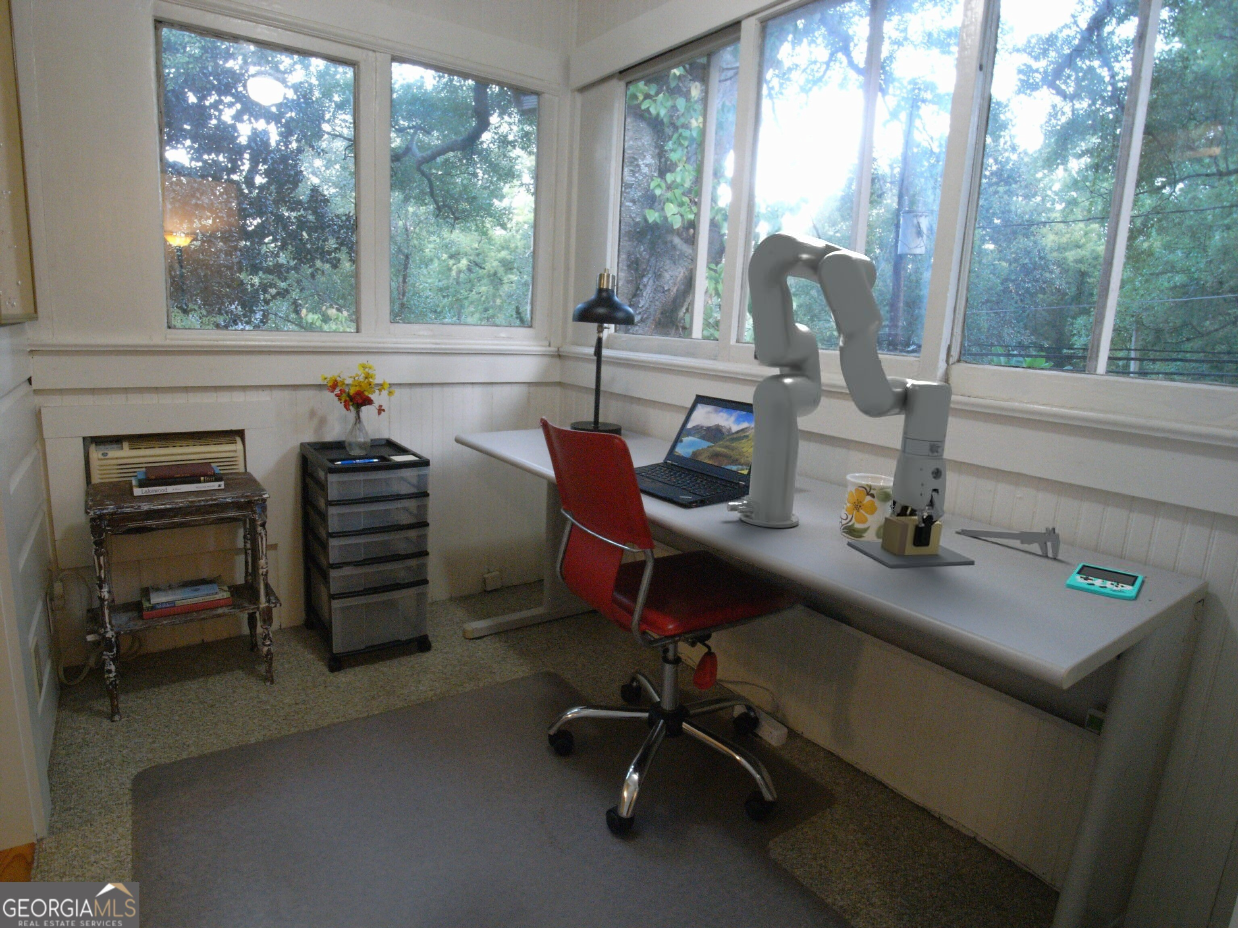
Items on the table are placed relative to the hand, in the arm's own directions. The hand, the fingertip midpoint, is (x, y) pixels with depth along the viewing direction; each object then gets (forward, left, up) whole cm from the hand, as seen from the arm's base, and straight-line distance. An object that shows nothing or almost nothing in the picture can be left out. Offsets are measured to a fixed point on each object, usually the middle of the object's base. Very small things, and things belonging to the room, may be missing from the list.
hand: (910, 540), depth 142 cm
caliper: (+25, +3, -3) cm, 25 cm away
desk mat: (0, 0, -3) cm, 3 cm away
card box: (0, 0, -2) cm, 2 cm away
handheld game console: (+26, -19, -3) cm, 32 cm away
